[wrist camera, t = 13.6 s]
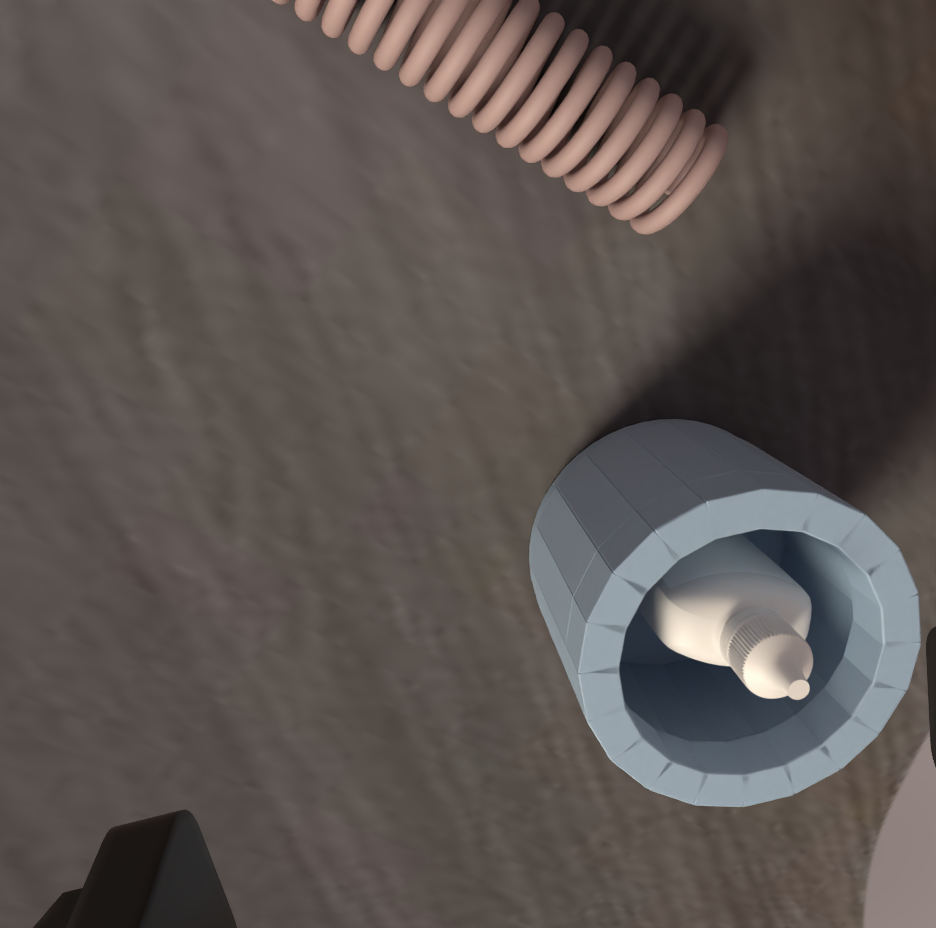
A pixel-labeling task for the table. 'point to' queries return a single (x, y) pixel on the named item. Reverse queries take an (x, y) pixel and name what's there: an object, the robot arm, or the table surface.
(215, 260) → the table surface
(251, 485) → the table surface
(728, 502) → the blue-grey pot
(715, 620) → the eye dropper bottle
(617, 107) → the coil
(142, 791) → the table surface
